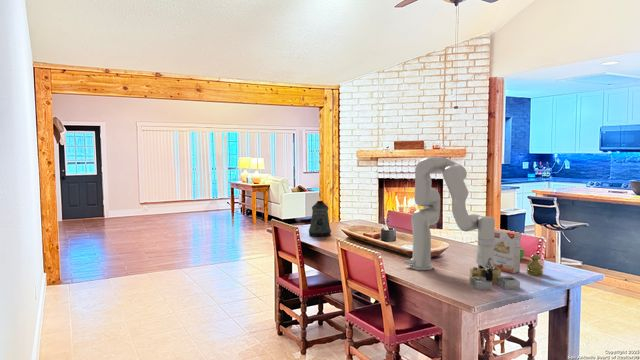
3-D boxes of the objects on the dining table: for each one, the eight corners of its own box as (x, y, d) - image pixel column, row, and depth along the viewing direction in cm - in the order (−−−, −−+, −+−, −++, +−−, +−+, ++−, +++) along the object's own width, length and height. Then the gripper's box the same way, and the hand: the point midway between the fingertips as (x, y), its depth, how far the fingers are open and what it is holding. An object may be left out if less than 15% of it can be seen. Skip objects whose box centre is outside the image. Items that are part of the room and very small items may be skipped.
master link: (472, 282, 220) (472, 268, 220) (469, 280, 223) (470, 266, 223) (500, 281, 221) (500, 267, 221) (497, 280, 224) (498, 266, 224)
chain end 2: (504, 289, 209) (504, 281, 209) (496, 283, 218) (496, 276, 218) (519, 289, 209) (519, 281, 209) (510, 283, 218) (510, 275, 218)
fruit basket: (516, 256, 271) (516, 237, 270) (527, 259, 262) (527, 240, 262) (500, 258, 267) (500, 238, 266) (510, 261, 259) (511, 241, 258)
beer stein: (310, 237, 328) (310, 203, 326) (306, 232, 347) (306, 199, 345) (333, 236, 331) (333, 202, 329) (327, 231, 350) (327, 199, 348)
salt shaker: (543, 276, 229) (544, 256, 228) (527, 275, 232) (527, 255, 231) (542, 272, 236) (542, 253, 235) (526, 271, 239) (526, 252, 238)
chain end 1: (476, 290, 208) (476, 282, 208) (469, 284, 217) (469, 276, 217) (491, 289, 209) (492, 282, 208) (483, 283, 218) (483, 276, 217)
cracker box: (489, 268, 245) (490, 229, 244) (496, 266, 249) (497, 228, 247) (513, 274, 234) (514, 233, 232) (520, 272, 237) (521, 232, 235)
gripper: (471, 238, 229) (470, 273, 231) (485, 246, 212) (484, 283, 213) (486, 238, 230) (485, 273, 231) (501, 246, 212) (500, 283, 214)
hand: (485, 277), depth 222 cm, fingers open, 7 cm apart
